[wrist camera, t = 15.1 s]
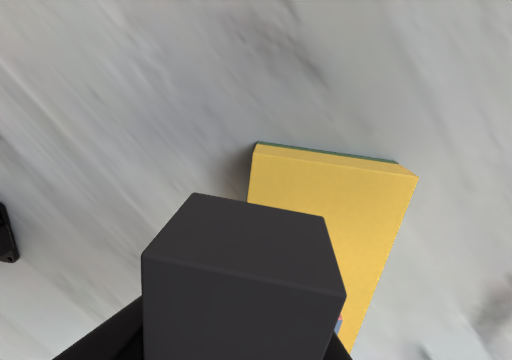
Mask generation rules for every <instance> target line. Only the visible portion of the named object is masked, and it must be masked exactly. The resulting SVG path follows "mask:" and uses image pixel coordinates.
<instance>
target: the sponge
mask: <svg viewBox="0 0 512 360" xmlns="http://www.w3.org/2000/svg"><path fill="white" fill-rule="evenodd" d="M418 179H419V177H418V176H416V175H415V174H413V173H412V172H410V171H409V170H407V169H406V168H404V167H403V166H401V165H400V164H398V163H397V162H395V161H391V160H385V159H378V158H371V157H364V156H357V155H350V154H343V153H336V152H329V151H322V150H315V149H308V148H301V147H294V146H287V145H280V144H273V143H266V142H260V141H258V142H257V145H256V147H255V149H254V152H253V156H252V164H251V172H250V180H249V188H248V196H247V202H248V203H254V204H259V205H264V206H270V207H275V208H280V209H286V210H291V211H296V212H302V213H307V214H312V215H318V216H322V217H324V219H325V223H326V226H327V229H328V233H329V236H330V239H331V243H332V246H333V249H334V253H335V256H336V260H337V263H338V266H339V270H340V273H341V276H342V280H343V283H344V286H345V290H346V293H347V298H346V301H345V303H344V306H343V308H342V311H341V316H342V320H343V321H342V324H341V327H340V330H339V333H338V337H339V339H340V340H341V342H342V344H343V345H344V347H345V349H346V350H347V352H348V353H349V355H350V352H351V349H352V347H353V344H354V342H355V339H356V337H357V334H358V332H359V329H360V327H361V324H362V321H363V319H364V316H365V314H366V311H367V309H368V306H369V304H370V301H371V299H372V296H373V293H374V291H375V288H376V286H377V283H378V281H379V278H380V276H381V273H382V270H383V268H384V265H385V263H386V260H387V258H388V255H389V253H390V250H391V248H392V245H393V242H394V240H395V237H396V235H397V232H398V230H399V227H400V225H401V222H402V220H403V217H404V214H405V212H406V209H407V207H408V204H409V202H410V199H411V197H412V194H413V191H414V189H415V186H416V184H417V181H418Z"/></svg>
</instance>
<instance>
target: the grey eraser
mask: <svg viewBox="0 0 512 360" xmlns="http://www.w3.org/2000/svg"><path fill="white" fill-rule="evenodd" d="M141 284H142V324H143V360H323V357H324V355H325V352H326V350H327V347H328V344H329V342H330V339H331V337H332V334H333V332H334V329H335V326H336V324H337V321H338V319H339V316H340V313H341V311H342V308H343V306H344V303H345V301H346V298H347V293H346V290H345V286H344V283H343V280H342V276H341V273H340V270H339V266H338V263H337V260H336V256H335V253H334V249H333V246H332V243H331V239H330V236H329V233H328V229H327V226H326V223H325V219H324V217H322V216H318V215H312V214H307V213H302V212H296V211H291V210H286V209H280V208H275V207H270V206H264V205H259V204H254V203H248V202H243V201H237V200H232V199H227V198H221V197H216V196H211V195H205V194H200V193H192V194H191V195H190V197H189V198H188V199H187V200H186V201H185V203H184V204H183V205H182V206H181V207H180V209H179V210H178V211H177V212H176V213H175V214H174V216H173V217H172V218H171V219H170V220H169V222H168V223H167V224H166V225H165V226H164V228H163V229H162V230H161V231H160V232H159V233H158V235H157V236H156V237H155V238H154V239H153V241H152V242H151V243H150V244H149V245H148V247H147V248H146V249H145V250H144V251H143V253H142V254H141Z"/></svg>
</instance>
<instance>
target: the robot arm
mask: <svg viewBox="0 0 512 360" xmlns="http://www.w3.org/2000/svg"><path fill="white" fill-rule="evenodd" d="M17 260H19V256H18V252H17V248H16V245H15V241H14V237H13V234H12V230H11V227H10V223H9V219H8V216H7V212H6V208H5V206H4V205H3V204H2V203H1V202H0V261H2V262H7V263H14V262H16V261H17ZM52 360H143V324H142V295H141V296H140V297H138V298H137V299H136V300H134V301H133V302H132V303H130V304H129V305H127V306H126V307H125V308H123V309H122V310H120V311H119V312H118V313H116V314H115V315H113V316H112V317H111V318H109V319H108V320H107V321H105V322H104V323H102V324H101V325H100V326H98V327H97V328H95V329H94V330H93V331H91V332H90V333H88V334H87V335H86V336H84V337H83V338H82V339H80V340H79V341H77V342H76V343H75V344H73V345H72V346H70V347H69V348H68V349H66V350H65V351H63V352H62V353H61V354H59V355H58V356H56V357H55V358H54V359H52ZM323 360H352V358H351V357H350V355H349V353H348V352H347V350H346V349H345V347H344V345H343V344H342V342H341V340H340V339H339V337H338V336H337V334H336V332H335V331H334V332H333V334H332V337H331V339H330V342H329V344H328V347H327V350H326V352H325V355H324V357H323Z"/></svg>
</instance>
